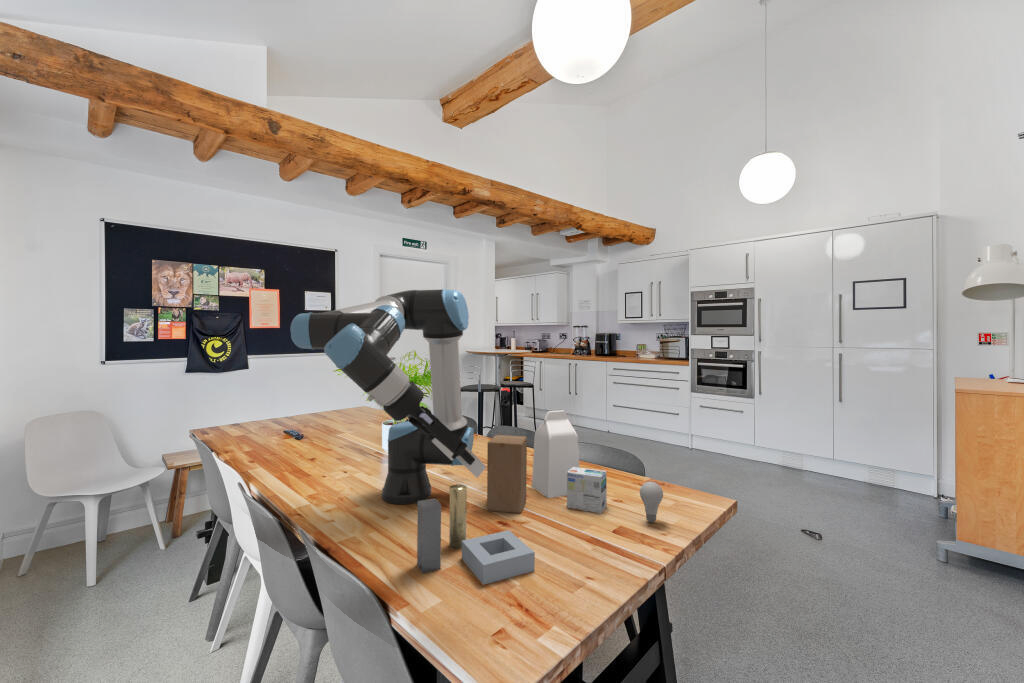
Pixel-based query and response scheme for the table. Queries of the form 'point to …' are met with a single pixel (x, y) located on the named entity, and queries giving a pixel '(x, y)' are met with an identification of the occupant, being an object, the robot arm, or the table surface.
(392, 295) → the robot arm
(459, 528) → the cylinder
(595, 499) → the light bulb box
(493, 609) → the table surface
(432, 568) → the square bit
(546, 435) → the milk
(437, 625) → the table surface
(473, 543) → the jig
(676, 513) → the table surface
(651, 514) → the lightbulb
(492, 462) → the wooden block
